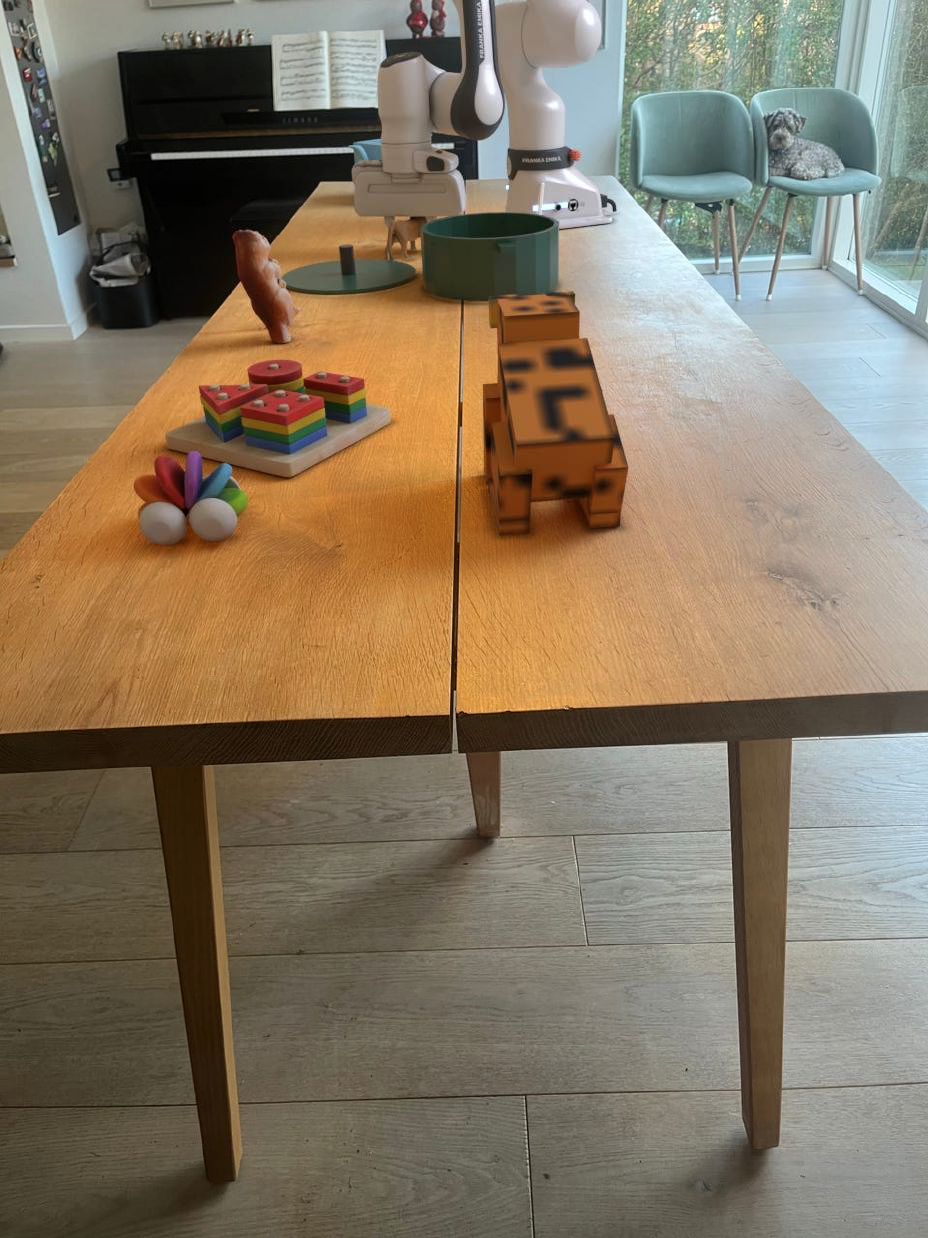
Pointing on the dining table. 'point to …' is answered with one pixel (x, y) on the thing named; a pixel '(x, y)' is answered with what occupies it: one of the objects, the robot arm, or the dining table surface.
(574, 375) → the toy animal
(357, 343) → the dining table surface
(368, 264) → the tin lid
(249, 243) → the figurine
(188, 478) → the rainbow fan rolling toy
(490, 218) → the tin
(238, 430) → the shape sorter
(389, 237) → the lion figurine
